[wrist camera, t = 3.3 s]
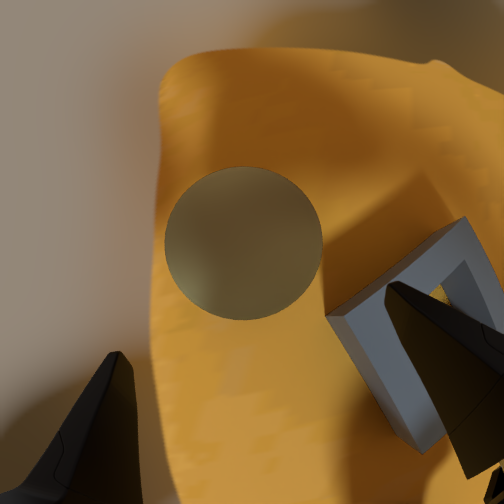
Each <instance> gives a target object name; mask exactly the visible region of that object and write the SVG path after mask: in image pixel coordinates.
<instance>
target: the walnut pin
mask: <svg viewBox="0 0 504 504" xmlns="http://www.w3.org/2000/svg"><path fill="white" fill-rule="evenodd" d="M322 247H323V242H322V231H321V225H320V222H319V218H318V216H317V213H316V211H315V209H314V207H313V205H312V204H311V202H310V201H309V199H308V198H307V197H306V195H305V194H304V193H303V192H302V191H301V190H300V189H299V188H298V187H297V186H296V185H295V184H293V183H292V182H291V181H289V180H288V179H286V178H285V177H283V176H281V175H279V174H277V173H274V172H272V171H269V170H266V169H262V168H256V167H232V168H227V169H222V170H219V171H216V172H214V173H211V174H209V175H207V176H205V177H203V178H202V179H200V180H199V181H197V182H196V183H195V184H193V185H192V186H191V187H190V188H189V189H188V190H187V191H186V192H185V193H184V194H183V195H182V196H181V198H180V199H179V200H178V202H177V203H176V205H175V207H174V209H173V210H172V212H171V215H170V218H169V220H168V224H167V228H166V233H165V255H166V261H167V264H168V267H169V270H170V273H171V275H172V277H173V279H174V281H175V282H176V284H177V286H178V287H179V289H180V290H181V291H182V292H183V293H184V295H185V296H186V297H187V298H188V299H190V300H191V301H192V302H193V303H194V304H196V305H197V306H199V307H200V308H202V309H203V310H205V311H207V312H209V313H211V314H214V315H217V316H220V317H223V318H228V319H233V320H251V319H259V318H263V317H267V316H270V315H272V314H275V313H277V312H279V311H281V310H283V309H285V308H287V307H288V306H289V305H291V304H292V303H293V302H295V301H296V300H297V299H298V298H299V297H300V296H301V295H302V294H303V293H304V292H305V290H306V289H307V288H308V287H309V285H310V284H311V282H312V280H313V278H314V277H315V275H316V272H317V270H318V267H319V264H320V260H321V256H322Z"/></svg>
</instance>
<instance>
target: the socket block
mask: <svg viewBox="0 0 504 504" xmlns="http://www.w3.org/2000/svg"><path fill="white" fill-rule="evenodd" d="M394 281H401V282H403V283H405V284H407V285H409V286H411V287H413V288H415V289H417V290H419V291H421V292H423V293H425V294H427V295H429V294H430V293H431V292H432V291H433V290H434V289H435V288H436V287H437V286H438V285H439V284H440V283H441V285H442V287H443V289H444V291H445V293H446V295H447V297H448V299H449V301H450V303H451V305H452V307H453V308H454V309H456V310H458V311H460V312H462V313H464V314H466V315H468V316H470V317H472V318H474V319H475V320H477V321H479V322H480V323H483V324H485V325H487V326H489V327H491V328H493V329H495V330H497V331H498V332H500V333H503V334H504V293H503V290H502V288H501V286H500V283H499V281H498V279H497V276H496V274H495V272H494V270H493V268H492V266H491V263H490V261H489V259H488V257H487V255H486V253H485V251H484V249H483V247H482V245H481V243H480V242H479V240H478V238H477V236H476V234H475V232H474V230H473V229H472V227H471V225H470V223H469V222H468V220H467V218H466V216H464V217H462V218H460V219H458V220H457V221H455V222H453V223H451V224H449V225H447V226H445V227H443V228H441V229H439V230H438V231H436V232H434V233H433V234H432V235H431V236H430V237H428V238H427V239H426V240H425V241H424V242H423V243H421V244H420V245H419V246H418V247H417V248H415V249H414V250H413V251H412V252H410V253H409V254H408V255H407V256H406V257H404V258H403V259H402V260H401V261H399V262H398V263H397V264H396V265H394V266H393V267H392V268H390V269H389V270H388V271H387V272H385V273H384V274H383V275H381V276H380V277H379V278H377V279H376V280H375V281H374V282H372V283H371V284H370V285H368V286H367V287H366V288H364V289H363V290H361V291H360V292H359V293H357V294H356V295H355V296H353V297H352V298H350V299H349V300H348V301H346V302H345V303H343V304H342V305H341V306H339V307H338V308H336V309H335V310H333V311H332V312H331V313H329V314H328V315H326V316H325V317H326V318H327V320H328V322H329V323H330V325H331V327H332V328H333V330H334V331H335V333H336V335H337V336H338V338H339V339H340V341H341V343H342V344H343V346H344V348H345V349H346V351H347V353H348V354H349V356H350V357H351V359H352V361H353V362H354V364H355V366H356V367H357V369H358V371H359V372H360V374H361V376H362V377H363V379H364V381H365V382H366V384H367V386H368V387H369V389H370V391H371V393H372V394H373V396H374V398H375V399H376V401H377V403H378V404H379V406H380V408H381V409H382V411H383V413H384V415H385V416H386V418H387V420H388V422H389V423H390V425H391V427H392V428H393V430H394V432H395V434H396V435H397V436H398V437H399V438H401V439H402V440H403V441H405V442H406V443H407V444H409V445H410V446H411V447H413V448H414V449H415V450H417V451H418V452H419V453H421V454H423V453H425V452H426V451H427V450H428V449H429V448H431V447H432V446H433V445H434V444H435V443H436V442H437V441H438V440H440V439H441V438H442V437H443V436H444V435H445V434H446V433H447V432H446V430H445V427H444V425H443V423H442V421H441V419H440V417H439V415H438V413H437V411H436V409H435V407H434V405H433V403H432V401H431V399H430V397H429V395H428V393H427V391H426V389H425V387H424V385H423V383H422V381H421V379H420V377H419V375H418V374H417V372H416V370H415V368H414V366H413V364H412V362H411V361H410V359H409V357H408V355H407V353H406V352H405V350H404V348H403V346H402V344H401V342H400V340H399V338H398V336H397V333H396V331H395V329H394V327H393V324H392V322H391V319H390V317H389V315H388V313H387V311H386V308H385V305H384V298H385V292H386V286H387V284H388V283H391V282H394Z"/></svg>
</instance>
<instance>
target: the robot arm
mask: <svg viewBox="0 0 504 504" xmlns="http://www.w3.org/2000/svg"><path fill="white" fill-rule="evenodd" d="M384 305H385V308H386V311H387V313H388V315H389V317H390V319H391V322H392V324H393V326H394V329H395V331H396V333H397V336H398V338H399V340H400V342H401V344H402V346H403V348H404V350H405V352H406V353H407V355H408V357H409V359H410V361H411V362H412V364H413V366H414V368H415V370H416V372H417V374H418V375H419V377H420V379H421V381H422V383H423V385H424V387H425V389H426V391H427V393H428V395H429V397H430V399H431V401H432V403H433V405H434V407H435V409H436V411H437V413H438V415H439V417H440V419H441V421H442V423H443V425H444V427H445V430H446V432H447V434H448V435H449V439H450V441H451V443H452V445H453V448H454V450H455V452H456V454H457V457H458V459H459V462H460V464H461V466H462V469H463V471H464V474H465V476H466V478H467V480H468V479H470V478H472V477H474V476H476V475H478V474H479V473H481V472H483V471H485V470H486V469H488V468H490V467H492V466H493V465H495V464H496V463H498V462H499V463H500V466H499V467H498V468H497V469H496V470H494V471H493V472H492V475H491V479H490V482H489V485H488V488H487V491H486V494H485V497H484V503H485V504H504V334H503V333H500V332H498V331H497V330H495V329H493V328H491V327H489V326H487V325H485V324H483V323H480V322H479V321H477V320H475V319H474V318H472V317H470V316H468V315H466V314H464V313H462V312H460V311H458V310H456V309H454V308H453V307H451V306H449V305H447V304H445V303H443V302H441V301H439V300H437V299H435V298H433V297H431V296H429V295H427V294H425V293H423V292H421V291H419V290H417V289H415V288H413V287H411V286H409V285H407V284H405V283H403V282H401V281H394V282H391V283H388V284H387V286H386V292H385V298H384ZM137 414H138V413H137V402H136V392H135V382H134V372H133V367H132V365H131V364H130V362H129V361H128V360H127V358H126V357H125V356H124V355H123V353H122V352H121V351H115V352H110V353H109V354H108V355H107V356H106V358H105V359H104V361H103V362H102V364H101V365H100V367H99V368H98V369H97V371H96V372H95V374H94V375H93V377H92V378H91V380H90V381H89V383H88V384H87V386H86V387H85V389H84V391H83V392H82V394H81V395H80V397H79V398H78V400H77V401H76V403H75V404H74V406H73V408H72V409H71V411H70V412H69V414H68V415H67V417H66V419H65V420H64V422H63V424H62V425H61V427H60V428H59V431H58V432H57V433H56V435H55V437H54V438H53V440H52V441H51V443H50V445H49V446H48V448H47V449H46V451H45V452H44V454H43V455H42V456H41V458H40V459H39V461H38V462H37V464H36V465H35V467H34V468H33V469H32V471H31V472H30V474H29V475H28V476H27V478H26V479H25V480H24V482H23V483H22V484H21V485H19V486H18V487H16V488H15V489H13V490H10V491H7V492H4V493H1V494H0V504H143V498H142V488H141V477H140V463H139V445H138V415H137Z"/></svg>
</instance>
